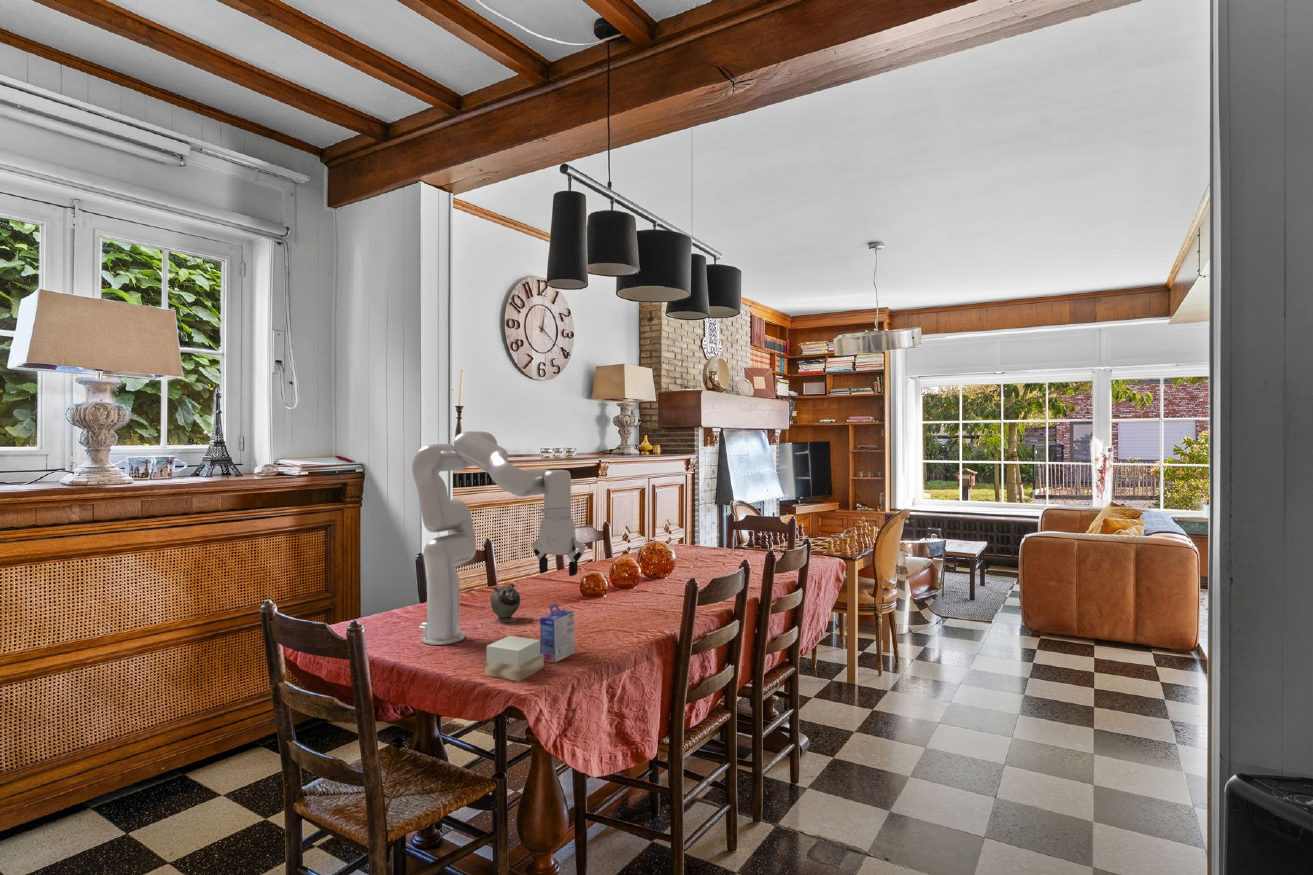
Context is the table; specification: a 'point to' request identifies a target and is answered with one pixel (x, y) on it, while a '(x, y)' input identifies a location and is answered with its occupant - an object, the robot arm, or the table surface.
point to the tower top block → (513, 650)
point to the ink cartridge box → (557, 634)
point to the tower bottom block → (514, 669)
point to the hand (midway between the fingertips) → (558, 573)
